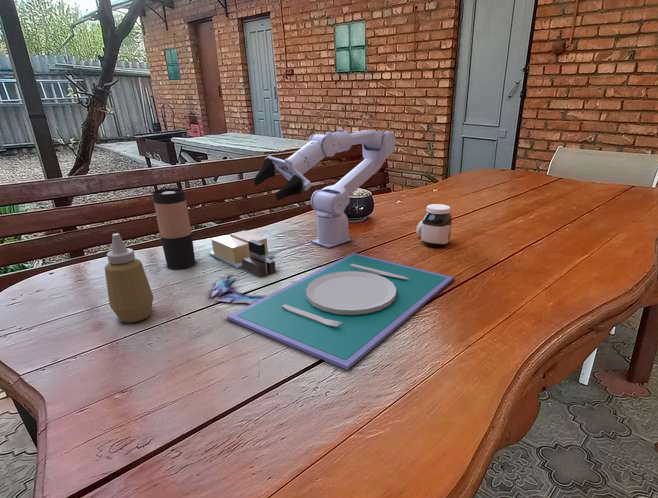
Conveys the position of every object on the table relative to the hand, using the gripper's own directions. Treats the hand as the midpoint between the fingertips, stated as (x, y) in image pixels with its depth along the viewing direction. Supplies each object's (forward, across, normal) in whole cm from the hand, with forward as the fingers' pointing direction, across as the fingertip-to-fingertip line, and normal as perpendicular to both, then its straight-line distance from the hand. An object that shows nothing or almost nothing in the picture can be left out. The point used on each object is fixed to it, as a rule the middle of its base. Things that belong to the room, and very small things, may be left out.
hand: (265, 189), depth 109 cm
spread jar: (-32, +37, +22) cm, 53 cm away
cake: (+11, -2, +20) cm, 23 cm away
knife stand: (+14, +9, +13) cm, 21 cm away
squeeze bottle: (+43, +4, +1) cm, 43 cm away
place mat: (+10, +36, +2) cm, 37 cm away
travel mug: (+24, -10, +18) cm, 32 cm away
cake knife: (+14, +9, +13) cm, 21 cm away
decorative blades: (+25, +13, +6) cm, 28 cm away
